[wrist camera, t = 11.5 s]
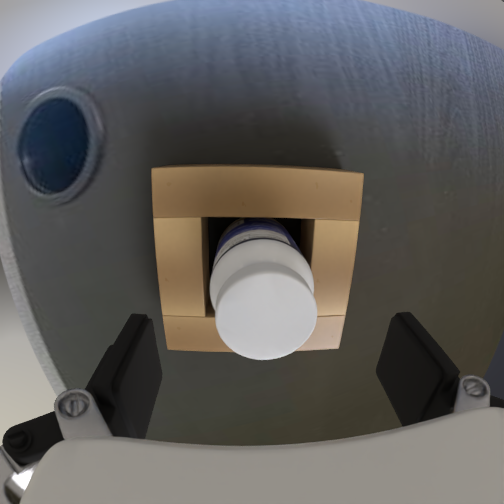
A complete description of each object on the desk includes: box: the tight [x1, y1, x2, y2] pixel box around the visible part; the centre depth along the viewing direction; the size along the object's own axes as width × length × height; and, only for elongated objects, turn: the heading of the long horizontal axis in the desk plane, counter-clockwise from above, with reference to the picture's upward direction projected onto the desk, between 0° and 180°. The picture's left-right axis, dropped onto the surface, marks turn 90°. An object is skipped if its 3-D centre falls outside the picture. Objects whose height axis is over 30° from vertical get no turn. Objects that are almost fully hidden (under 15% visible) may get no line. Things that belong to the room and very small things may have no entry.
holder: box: [151, 164, 364, 352], centre depth 21 cm, size 13×13×4 cm
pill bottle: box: [210, 217, 317, 360], centre depth 18 cm, size 6×6×10 cm
